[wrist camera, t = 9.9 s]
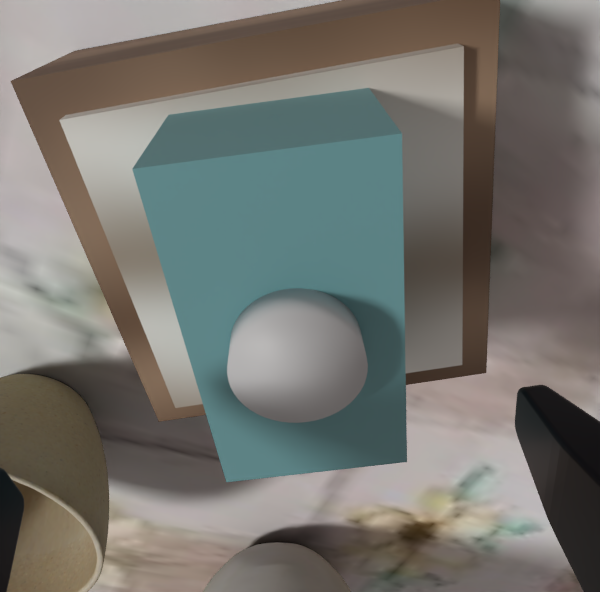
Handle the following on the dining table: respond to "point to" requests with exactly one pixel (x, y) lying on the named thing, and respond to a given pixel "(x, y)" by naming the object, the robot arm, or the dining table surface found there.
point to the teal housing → (287, 277)
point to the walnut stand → (276, 86)
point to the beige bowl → (54, 484)
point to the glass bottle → (277, 571)
